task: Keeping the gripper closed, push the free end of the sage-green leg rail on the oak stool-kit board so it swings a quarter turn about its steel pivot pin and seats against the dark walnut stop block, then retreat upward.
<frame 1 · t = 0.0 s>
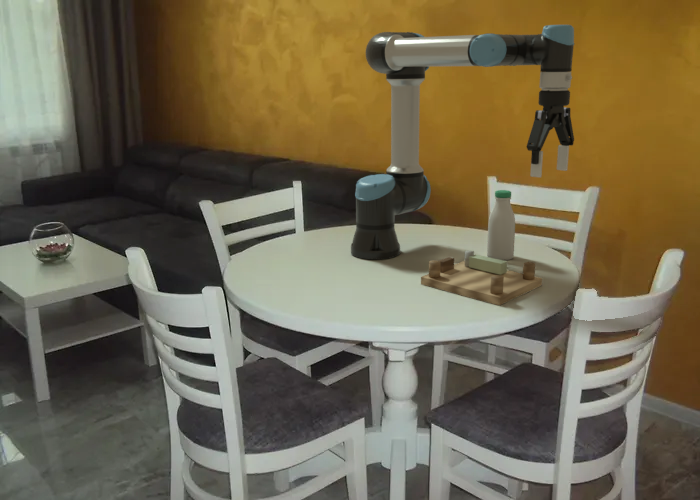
hand: (549, 173, 175), 28 cm above the table, fingers open, 13 cm apart
stool board: (480, 284, 176), on the table
milk bottle: (500, 258, 200), on the table
leg rail: (484, 262, 181), point 4 cm above the table, hinge at 0.0°
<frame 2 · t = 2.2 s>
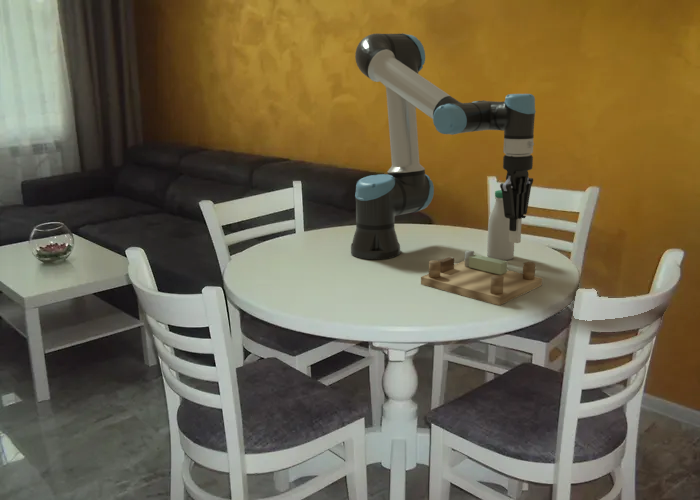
hand: (514, 241, 182), 9 cm above the table, fingers closed
nothing on the table moved.
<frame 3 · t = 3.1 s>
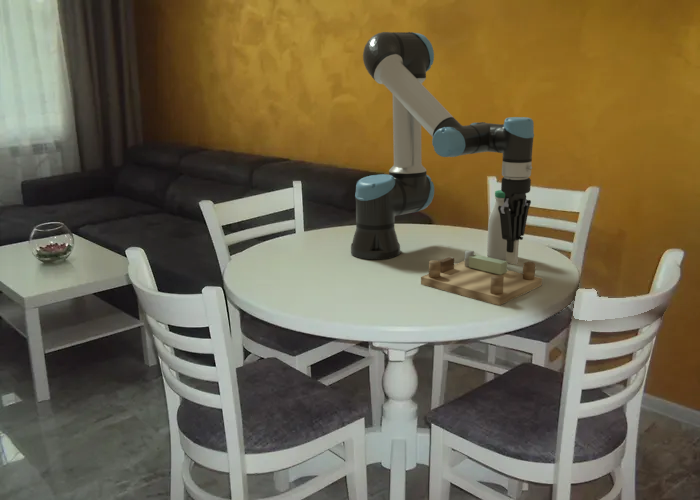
hand: (511, 262, 184), 3 cm above the table, fingers closed
nothing on the table moved.
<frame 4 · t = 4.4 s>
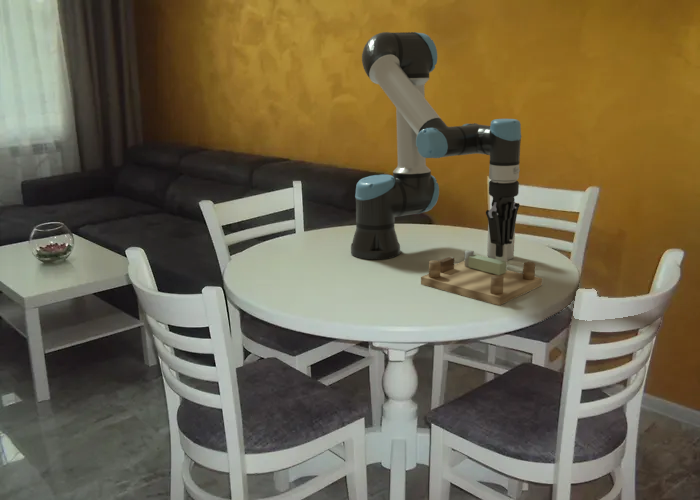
hand: (501, 267, 180), 3 cm above the table, fingers closed
leg rail: (483, 262, 181), point 4 cm above the table, hinge at -3.0°, touching gripper
everything else where it was.
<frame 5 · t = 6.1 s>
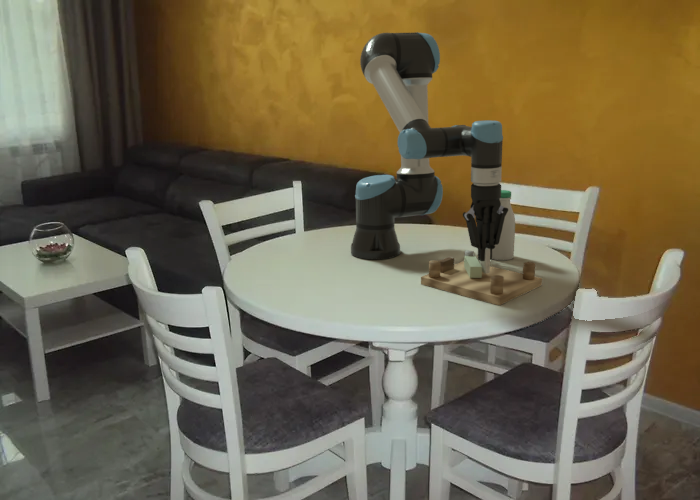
hand: (484, 271, 176), 3 cm above the table, fingers closed
leg rail: (472, 263, 180), point 4 cm above the table, hinge at -46.1°, touching gripper
everything else where it was.
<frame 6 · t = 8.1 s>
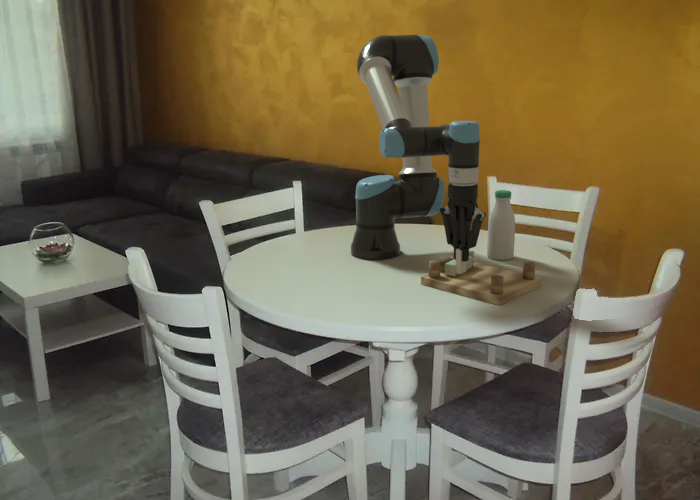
hand: (460, 272, 176), 3 cm above the table, fingers closed
leg rail: (460, 263, 181), point 4 cm above the table, hinge at -82.1°, touching gripper
everything else where it was.
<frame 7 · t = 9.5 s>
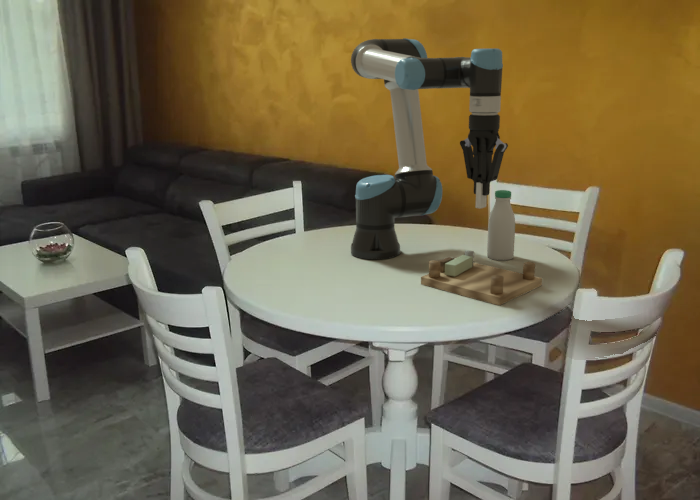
hand: (480, 207, 172), 20 cm above the table, fingers closed
leg rail: (460, 263, 181), point 4 cm above the table, hinge at -82.1°
everything else where it was.
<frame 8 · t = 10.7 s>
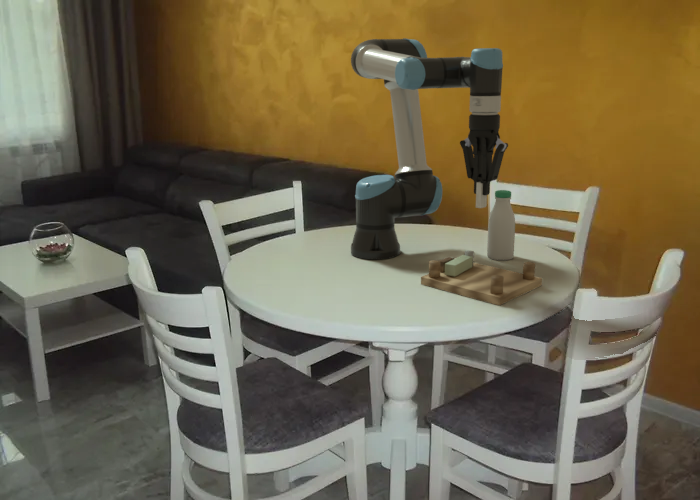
hand: (481, 207, 172), 20 cm above the table, fingers closed
nothing on the table moved.
at the end: leg rail at -82° (first picture: +0°); the gripper is holding nothing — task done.
